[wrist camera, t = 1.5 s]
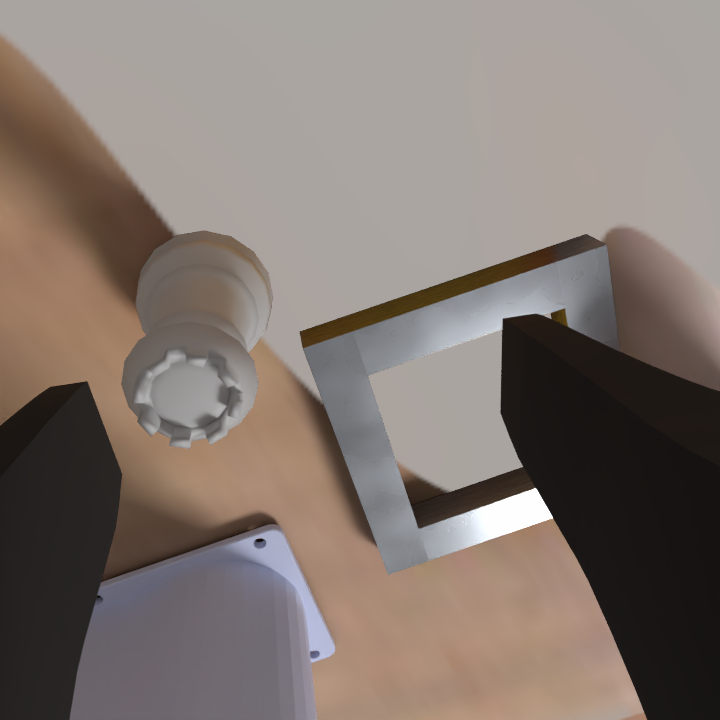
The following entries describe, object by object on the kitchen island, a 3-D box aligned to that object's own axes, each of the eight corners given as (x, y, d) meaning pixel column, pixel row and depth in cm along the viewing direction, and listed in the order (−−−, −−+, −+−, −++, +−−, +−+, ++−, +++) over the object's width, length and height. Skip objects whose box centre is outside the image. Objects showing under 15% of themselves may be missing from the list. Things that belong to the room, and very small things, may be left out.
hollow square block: (381, 550, 28) (388, 574, 27) (299, 331, 23) (302, 348, 22) (618, 468, 28) (636, 488, 27) (586, 233, 24) (606, 244, 22)
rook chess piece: (121, 323, 22) (61, 449, 15) (165, 204, 21) (123, 281, 14) (243, 368, 24) (241, 502, 17) (293, 259, 22) (314, 354, 15)
